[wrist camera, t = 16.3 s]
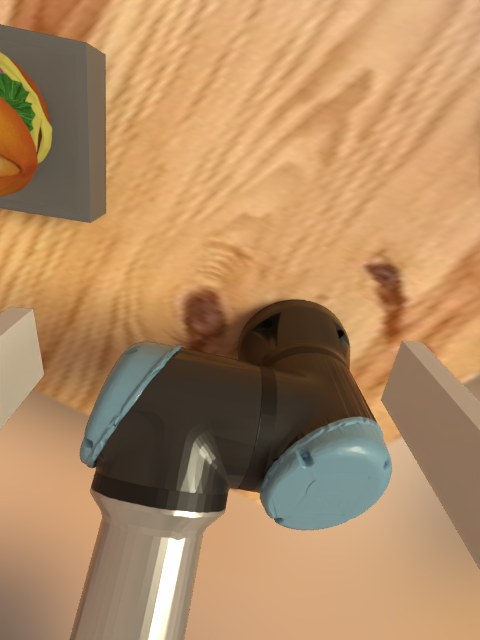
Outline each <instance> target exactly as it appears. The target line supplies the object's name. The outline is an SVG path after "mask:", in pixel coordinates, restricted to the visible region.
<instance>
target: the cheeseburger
mask: <svg viewBox="0 0 480 640" xmlns="http://www.w3.org/2000/svg"><path fill="white" fill-rule="evenodd" d="M51 141H52V127H51V125H50V119H49V113H48V106H47V104H46V102H45V100H44V99H43V97H42V95H41V93H40V91H39V89H38V87H37V86H36V84H35V82H34V81H33V80H32V79H31V78H30V77H29V76H28V75H27V74H26V73H25V71H24V70H23V69H22V68H21V67H20V66H19V65H18V64H17V63H16V62H14V61H12V60H11V59H9V58H8V57H7V56H5V55H4V54H2V53H1V52H0V197H2V196H6V195H9V194H13V193H16V192H18V191H20V190H22V189H23V188H24V187H25V186H26V185H27V184H28V183H29V182H30V181H31V179H32V177H33V175H34V173H35V171H36V170H37V167H38V163H40V162H42V161H43V160H44V158H45V157H46V155H47V153H48V152H49V150H50V148H51Z"/></svg>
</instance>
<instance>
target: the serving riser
mask: <svg viewBox="0 0 480 640" xmlns="http://www.w3.org/2000/svg"><path fill="white" fill-rule="evenodd" d="M0 52H1V53H2V54H4V55H5V56H7V57H8V58H9V59H11V60H12V61H14V62H16V63H17V64H18V65H19V66H20V67H21V68H22V69H23V70H24V71H25V73H26V74H27V75H28V76H29V77H30V78H31V79H32V80H33V81H34V82H35V84H36V86H37V87H38V89H39V91H40V93H41V95H42V97H43V99H44V100H45V102H46V104H47V106H48V113H49V119H50V125H51V127H52V141H51V148H50V150H49V152H48V153H47V155H46V157H45V158H44V160H43V161H42V162H40V163H38V167H37V170H36V171H35V173H34V175H33V177H32V179H31V181H30V182H29V183H28V184H27V185H26V186H25V187H24V188H23V189H22V190H20V191H18V192H16V193H13V194H9V195H6V196H2V197H0V208H3V209H9V210H15V211H21V212H27V213H33V214H40V215H46V216H52V217H58V218H64V219H70V220H76V221H82V222H89V223H91V222H93V221H94V220H96V219H97V218H99V217H101V216H102V215H104V214H105V213H106V82H105V54H104V53H102V52H101V51H99V50H97V49H96V48H94V47H93V46H91V45H89V44H88V43H86V42H81V41H77V40H72V39H67V38H62V37H58V36H53V35H48V34H43V33H39V32H34V31H29V30H24V29H20V28H15V27H10V26H5V25H1V24H0Z"/></svg>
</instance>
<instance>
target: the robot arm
mask: <svg viewBox="0 0 480 640" xmlns="http://www.w3.org/2000/svg"><path fill="white" fill-rule="evenodd" d="M349 367H350V344H349V339H348V336H347V333H346V331H345V329H344V328H343V326H342V324H341V322H340V321H339V319H338V318H337V317H336V316H335V315H334V314H333V313H332V312H331V311H330V310H328V309H327V308H325V307H323V306H321V305H319V304H317V303H314V302H310V301H304V300H288V301H282V302H278V303H275V304H273V305H270V306H268V307H266V308H264V309H263V310H261V311H260V312H258V313H257V314H256V315H254V316H253V317H252V318H251V319H250V321H249V322H248V323H247V324H246V326H245V327H244V329H243V331H242V333H241V336H240V339H239V343H238V360H236V359H231V358H226V357H222V356H217V355H213V354H208V353H204V352H199V351H195V350H190V349H186V348H184V346H182V345H177V346H170V345H164V344H158V343H152V342H139V343H136V344H134V345H132V346H131V347H129V348H128V349H127V350H126V351H125V352H124V353H123V354H122V356H121V357H120V358H119V360H118V361H117V362H116V364H115V366H114V367H113V369H112V370H111V372H110V374H109V376H108V378H107V379H106V381H105V383H104V385H103V387H102V389H101V391H100V394H99V396H98V398H97V400H96V403H95V405H94V407H93V410H92V412H91V415H90V417H89V420H88V423H87V426H86V429H85V437H84V439H83V442H82V445H81V448H80V459H81V461H82V462H83V463H85V464H86V465H87V466H88V467H90V468H95V467H96V472H95V475H94V479H93V482H92V486H91V489H90V492H91V495H92V496H93V498H94V500H95V501H96V503H97V505H98V506H99V508H100V510H101V514H102V520H101V524H100V528H99V532H98V535H97V539H96V543H95V546H94V550H93V554H92V558H91V562H90V565H89V569H88V573H87V576H86V580H85V584H84V588H83V591H82V595H81V599H80V603H79V606H78V610H77V613H76V617H75V621H74V625H73V628H72V632H71V636H70V640H184V639H185V632H186V627H187V622H188V616H189V611H190V605H191V599H192V593H193V588H194V583H195V576H196V570H197V565H198V560H199V554H200V549H201V543H202V537H203V532H204V531H205V529H206V528H207V527H208V526H209V525H211V524H212V523H213V522H214V521H216V520H217V519H218V518H219V517H221V516H222V515H223V514H224V512H225V508H226V501H227V496H228V491H229V489H230V488H234V489H240V490H247V491H252V492H258V493H260V499H261V503H262V505H263V506H264V508H265V511H266V513H267V514H268V515H269V516H270V517H271V518H273V519H274V520H275V522H276V523H278V524H279V525H282V526H284V527H287V528H291V529H296V530H319V529H324V528H329V527H333V526H336V525H339V524H342V523H345V522H347V521H348V520H350V519H352V518H355V517H357V516H359V515H360V514H362V513H363V512H365V511H366V510H368V509H369V508H370V507H371V506H372V505H373V504H374V503H376V502H377V501H378V499H379V498H380V497H381V496H382V494H383V493H384V491H385V490H386V488H387V486H388V484H389V481H390V477H391V472H392V464H391V458H390V455H389V452H388V449H387V447H386V445H385V442H384V440H383V433H382V431H381V428H380V427H379V425H378V424H377V422H376V420H375V418H374V416H373V414H372V412H371V410H370V409H369V407H368V405H367V403H366V401H365V399H364V397H363V395H362V393H361V391H360V390H359V388H358V386H357V384H356V382H355V380H354V378H353V376H352V374H351V372H350V370H349ZM43 376H44V371H43V365H42V359H41V353H40V347H39V342H38V336H37V330H36V324H35V318H34V312H33V309H29V308H18V307H9V308H7V309H6V310H5V311H3V312H2V313H1V314H0V429H1V428H2V427H3V425H4V424H5V423H6V422H7V421H8V419H9V418H10V417H11V416H12V414H13V413H14V412H15V411H16V409H17V408H18V407H19V406H20V404H21V403H22V402H23V401H24V399H25V398H26V397H27V396H28V394H29V393H30V392H31V391H32V389H33V388H34V387H35V386H36V384H37V383H38V382H39V381H40V379H41V378H42V377H43ZM381 401H382V403H383V404H384V406H385V408H386V409H387V411H388V413H389V415H390V416H391V418H392V420H393V421H394V423H395V425H396V427H397V428H398V430H399V432H400V433H401V435H402V437H403V439H404V440H405V442H406V444H407V445H408V447H409V449H410V451H411V452H412V454H413V456H414V457H415V459H416V460H417V463H418V464H419V466H420V468H421V470H422V471H423V473H424V475H425V476H426V478H427V480H428V482H429V483H430V485H431V487H432V488H433V490H434V492H435V493H436V495H437V497H438V499H439V500H440V502H441V504H442V506H443V507H444V509H445V511H446V513H447V514H448V516H449V518H450V519H451V521H452V523H453V524H454V526H455V528H456V530H457V531H458V533H459V535H460V536H461V538H462V540H463V542H464V543H465V545H466V547H467V548H468V550H469V552H470V554H471V555H472V557H473V559H474V560H475V562H476V564H477V566H478V567H479V569H480V402H479V401H478V400H477V399H476V398H475V397H474V396H473V395H472V394H471V393H470V392H469V391H468V390H467V389H466V388H465V386H464V385H463V384H462V383H461V382H460V381H459V380H458V379H457V378H456V377H455V376H454V375H453V374H452V373H451V372H450V371H449V370H448V369H447V368H446V367H445V366H444V364H443V363H442V362H441V361H440V360H439V359H438V358H437V357H436V356H435V355H434V354H433V353H432V352H431V351H430V350H429V349H428V348H427V347H426V346H425V345H424V344H423V343H422V342H413V341H402V343H401V345H400V348H399V351H398V354H397V356H396V359H395V362H394V365H393V368H392V370H391V373H390V376H389V379H388V381H387V384H386V387H385V390H384V392H383V395H382V398H381Z"/></svg>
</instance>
